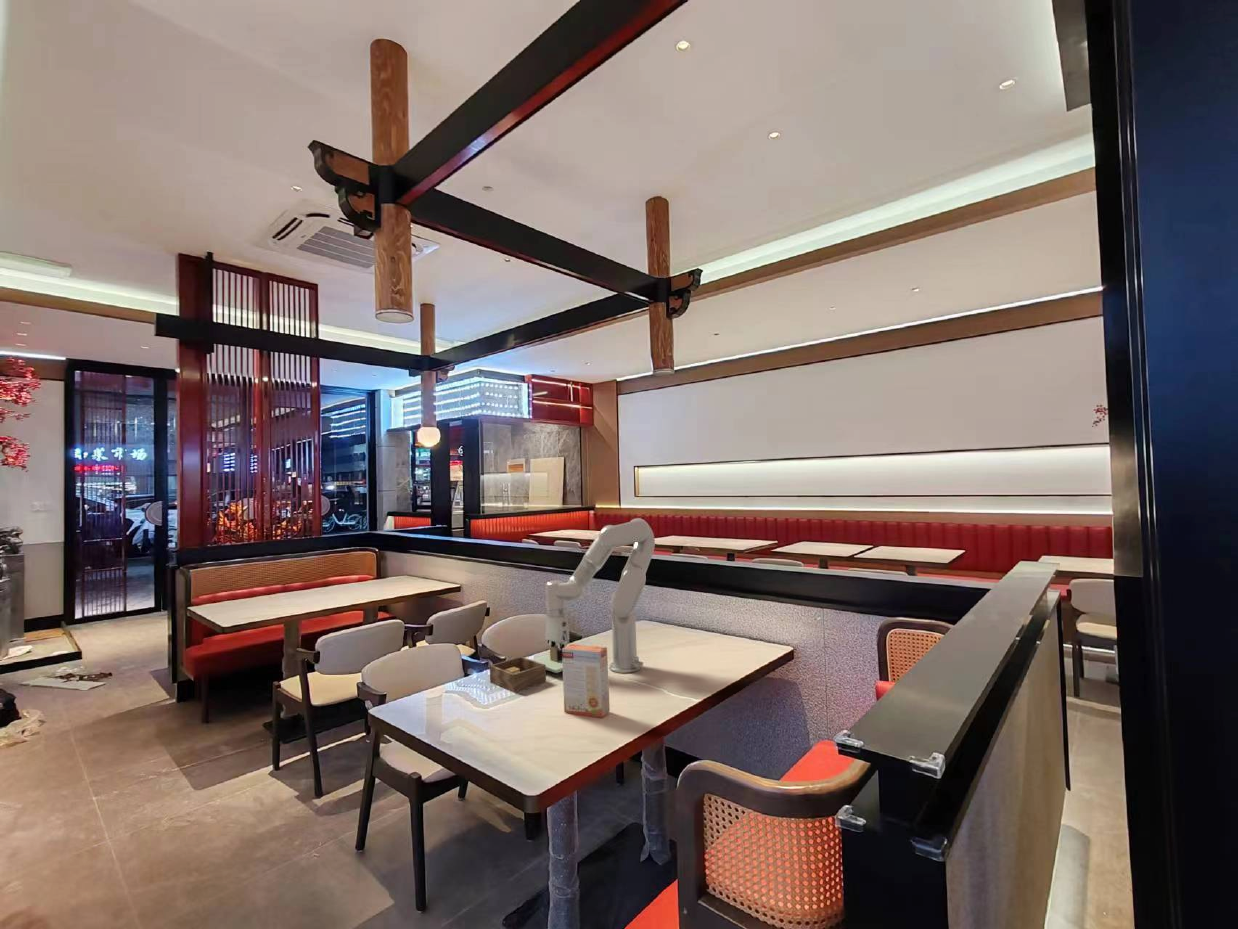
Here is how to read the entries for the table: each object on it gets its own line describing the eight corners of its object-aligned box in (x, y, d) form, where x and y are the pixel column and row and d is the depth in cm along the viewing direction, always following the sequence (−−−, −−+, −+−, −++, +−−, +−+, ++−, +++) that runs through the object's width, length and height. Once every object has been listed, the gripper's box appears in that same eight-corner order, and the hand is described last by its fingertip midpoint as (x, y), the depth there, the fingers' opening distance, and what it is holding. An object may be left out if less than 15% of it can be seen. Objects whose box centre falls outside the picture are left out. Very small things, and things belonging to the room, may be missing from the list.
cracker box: (610, 711, 179) (607, 646, 180) (602, 719, 174) (599, 651, 174) (572, 705, 185) (570, 642, 186) (563, 712, 180) (561, 647, 180)
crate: (546, 683, 206) (545, 664, 207) (514, 695, 197) (513, 675, 197) (521, 674, 218) (520, 656, 218) (490, 684, 208) (489, 665, 208)
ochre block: (520, 679, 210) (519, 668, 210) (511, 682, 207) (510, 671, 207) (514, 677, 212) (513, 666, 213) (505, 680, 210) (504, 669, 210)
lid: (587, 664, 220) (587, 646, 220) (555, 675, 209) (555, 656, 209) (559, 655, 233) (558, 638, 233) (527, 665, 221) (527, 647, 222)
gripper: (576, 613, 218) (578, 660, 217) (550, 607, 230) (552, 652, 229) (561, 617, 213) (563, 665, 212) (535, 611, 224) (537, 656, 224)
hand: (557, 658), depth 221 cm, fingers closed on lid, 4 cm apart
